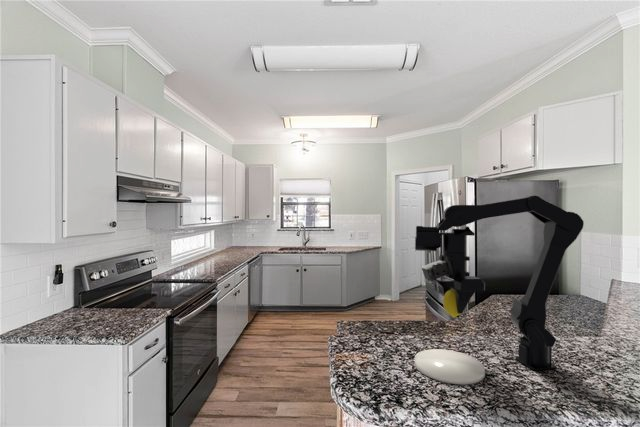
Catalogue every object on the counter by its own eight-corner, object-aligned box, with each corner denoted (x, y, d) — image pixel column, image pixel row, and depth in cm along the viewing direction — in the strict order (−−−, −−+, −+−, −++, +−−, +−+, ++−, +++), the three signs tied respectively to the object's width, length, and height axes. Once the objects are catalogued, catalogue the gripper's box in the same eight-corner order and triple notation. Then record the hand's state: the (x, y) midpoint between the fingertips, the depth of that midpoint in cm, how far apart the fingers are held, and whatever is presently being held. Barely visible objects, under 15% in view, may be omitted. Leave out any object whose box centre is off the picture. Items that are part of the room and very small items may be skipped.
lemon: (467, 321, 84) (467, 291, 84) (444, 320, 86) (444, 289, 86) (462, 315, 90) (463, 286, 90) (441, 313, 91) (442, 285, 91)
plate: (460, 352, 89) (460, 347, 89) (500, 381, 73) (500, 376, 73) (404, 355, 87) (404, 350, 87) (433, 386, 71) (433, 381, 71)
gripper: (412, 248, 96) (411, 301, 96) (442, 256, 77) (441, 322, 77) (448, 248, 97) (447, 300, 97) (486, 256, 79) (486, 321, 79)
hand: (454, 310), depth 88 cm, fingers closed on lemon, 5 cm apart
